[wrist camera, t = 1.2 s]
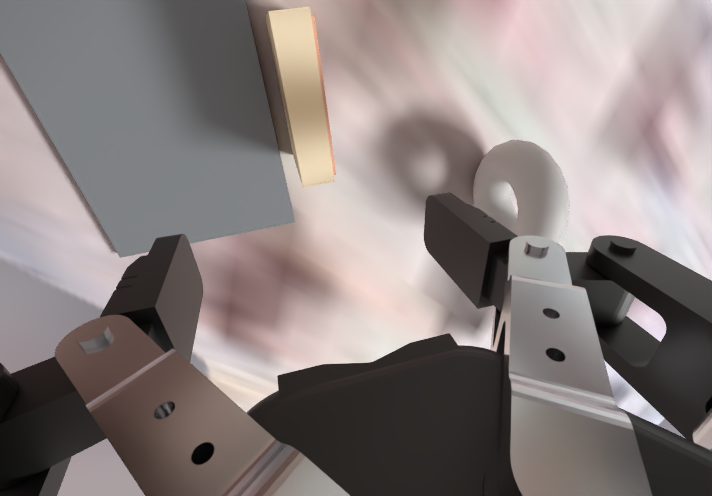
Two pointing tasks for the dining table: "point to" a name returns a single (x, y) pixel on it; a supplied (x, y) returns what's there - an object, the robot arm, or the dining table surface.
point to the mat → (153, 113)
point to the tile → (302, 92)
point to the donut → (523, 190)
